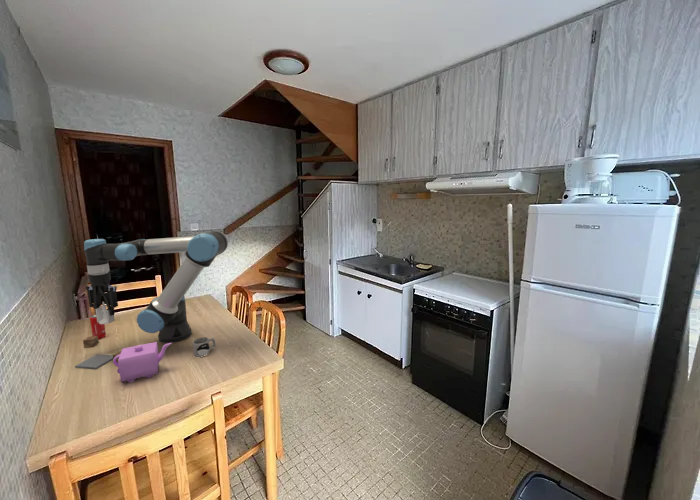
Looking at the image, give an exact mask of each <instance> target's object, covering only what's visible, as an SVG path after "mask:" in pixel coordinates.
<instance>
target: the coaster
mask: <svg viewBox="0 0 700 500" xmlns="http://www.w3.org/2000/svg"><path fill="white" fill-rule="evenodd" d="M112 361H113V354H103V353H97V354H94V355H93V356H90V357H89V358H87V359H86V360H83V361H82V362H80V363H78V364H76V365H74V368H75V369H87V370H98V369H100V368H101V367H103V366H104V365H106V364H108V363H111V362H112Z"/></svg>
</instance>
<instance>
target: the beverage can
mask: <svg viewBox="0 0 700 500" xmlns="http://www.w3.org/2000/svg"><path fill="white" fill-rule="evenodd" d="M89 321H90V329H91V333H92V335H91V336H98V340H101V339H104V338H105V337H106V335H107V332H106V326H105V325H106V324H99V322H97V318H96V315H95V314H93V315H91V316H90V317H89Z"/></svg>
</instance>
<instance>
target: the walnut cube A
mask: <svg viewBox="0 0 700 500" xmlns="http://www.w3.org/2000/svg"><path fill="white" fill-rule="evenodd" d="M99 343H100V342H99V339H98V336H92V335H91V336H87V337H86V338H84V339H83V340H82V344H83V349H87V348H95V347H96V346H97V345H98V344H99Z"/></svg>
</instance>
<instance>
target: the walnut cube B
mask: <svg viewBox="0 0 700 500" xmlns="http://www.w3.org/2000/svg"><path fill="white" fill-rule="evenodd" d="M121 351H122V350H120V351H117V352H114V353H113V354H112V355H113V359H114V358H115V357H116V356H117V355H119V354H121ZM118 359H119V358H117V359H116V362H117V363H118Z"/></svg>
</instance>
